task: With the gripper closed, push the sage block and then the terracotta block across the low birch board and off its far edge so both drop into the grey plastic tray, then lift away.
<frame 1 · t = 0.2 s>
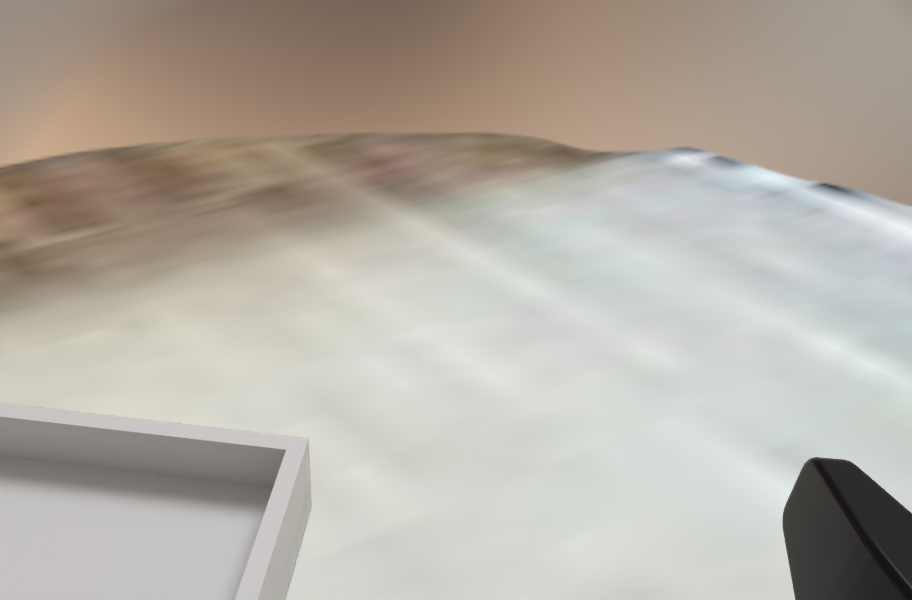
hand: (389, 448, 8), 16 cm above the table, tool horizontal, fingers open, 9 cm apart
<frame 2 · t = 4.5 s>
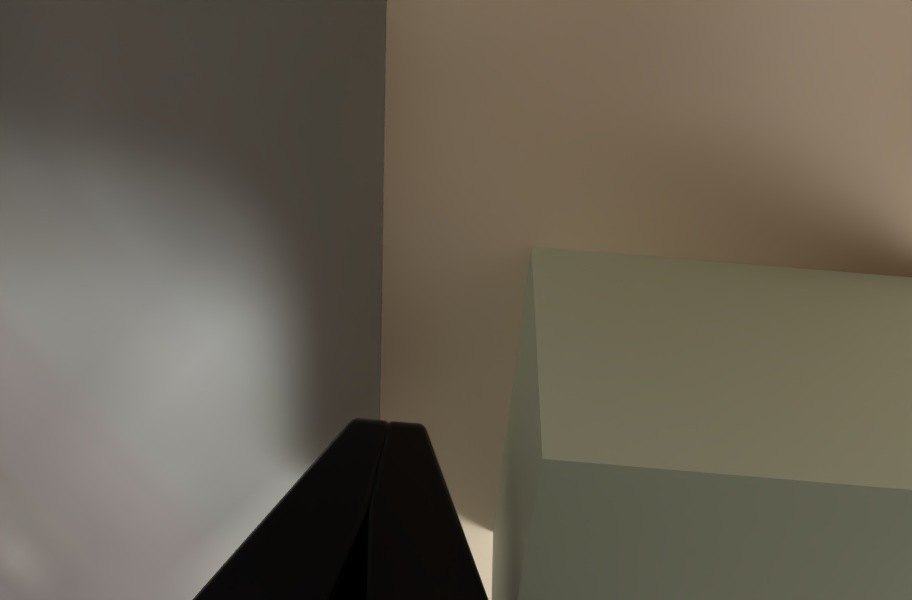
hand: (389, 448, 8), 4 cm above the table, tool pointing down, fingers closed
birch board: (824, 22, 9), on the table
sage block: (697, 424, 9), point 3 cm above the table, touching gripper
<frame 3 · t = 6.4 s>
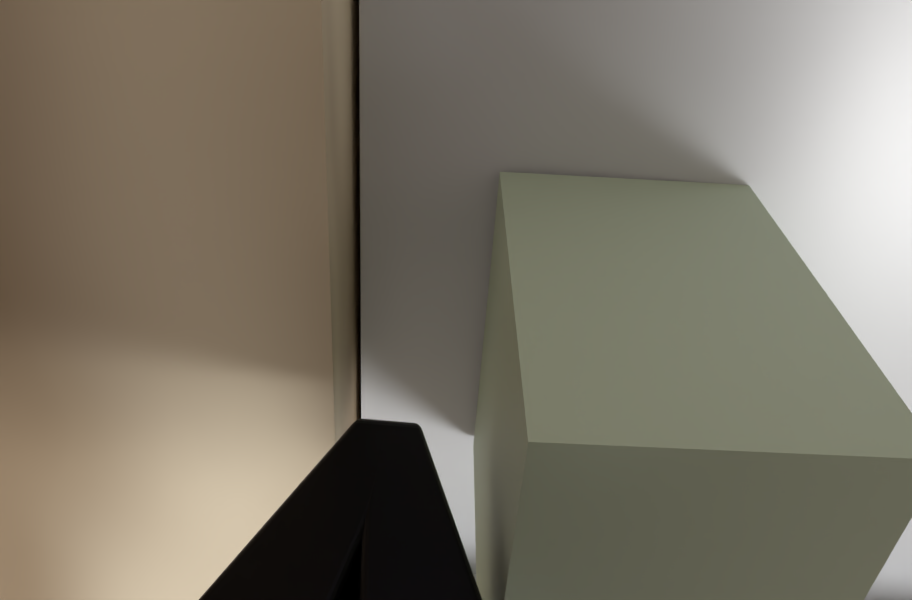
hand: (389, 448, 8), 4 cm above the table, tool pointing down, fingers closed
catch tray: (859, 25, 10), on the table
sage block: (490, 443, 9), point 4 cm above the table, tilted 93°, touching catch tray, gripper
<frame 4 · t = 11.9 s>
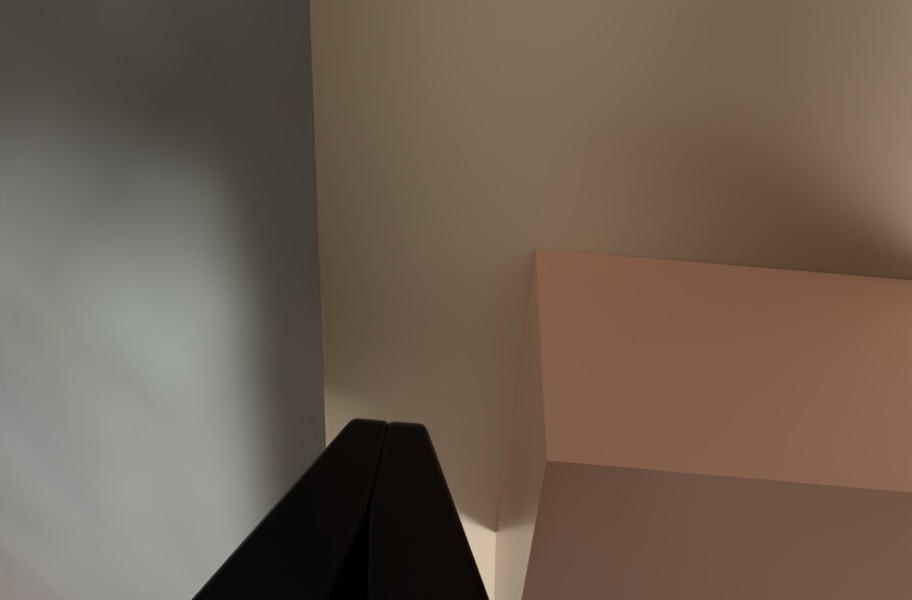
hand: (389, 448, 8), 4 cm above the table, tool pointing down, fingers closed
birch board: (637, 475, 14), on the table
terracotta block: (700, 426, 9), point 3 cm above the table, touching gripper
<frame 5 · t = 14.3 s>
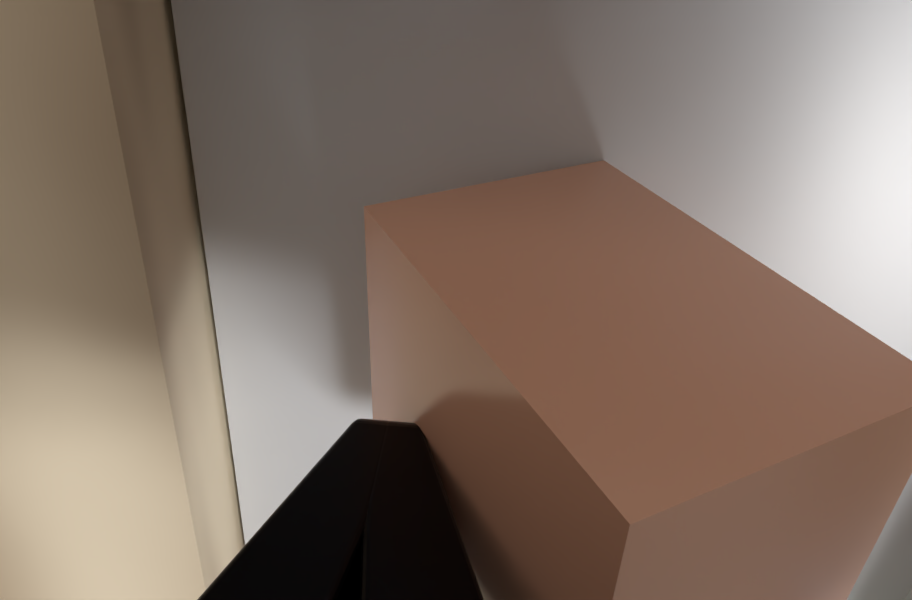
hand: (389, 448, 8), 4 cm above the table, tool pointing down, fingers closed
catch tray: (591, 468, 14), on the table
terracotta block: (454, 509, 8), point 5 cm above the table, tilted 120°, touching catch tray, gripper
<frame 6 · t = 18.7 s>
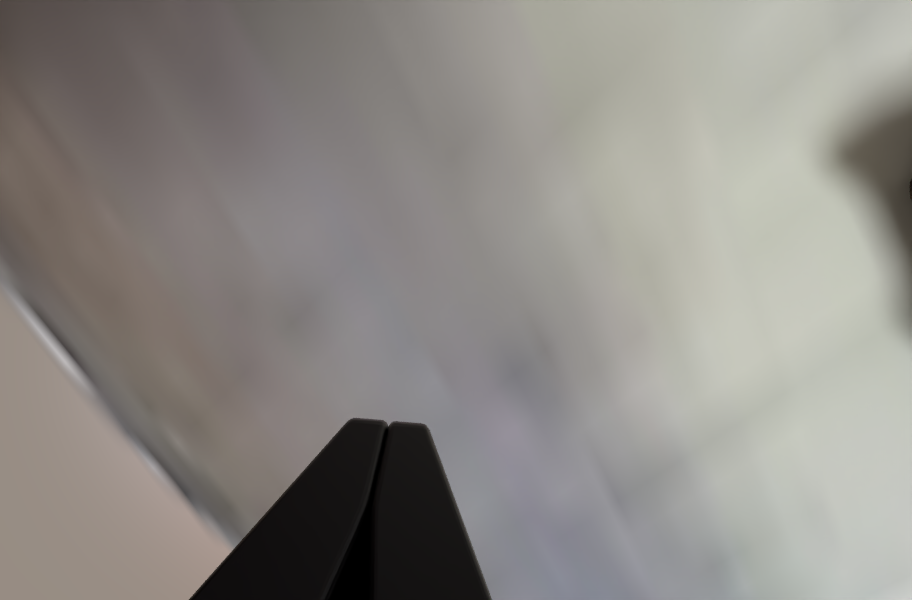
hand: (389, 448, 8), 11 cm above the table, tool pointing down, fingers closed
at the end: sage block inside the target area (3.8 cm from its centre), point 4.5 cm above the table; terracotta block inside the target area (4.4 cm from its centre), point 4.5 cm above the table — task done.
